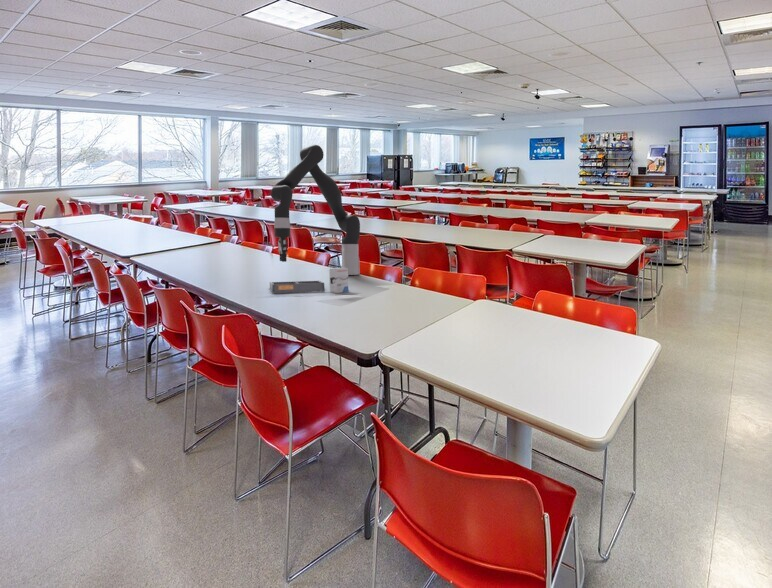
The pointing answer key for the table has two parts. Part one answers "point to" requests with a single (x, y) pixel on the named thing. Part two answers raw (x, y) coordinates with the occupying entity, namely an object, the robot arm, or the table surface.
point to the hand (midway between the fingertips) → (283, 261)
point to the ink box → (338, 280)
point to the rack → (296, 286)
